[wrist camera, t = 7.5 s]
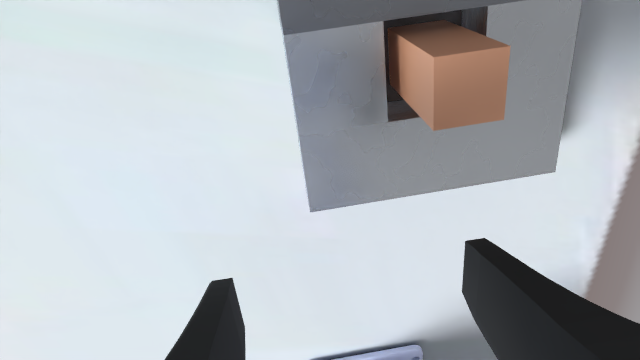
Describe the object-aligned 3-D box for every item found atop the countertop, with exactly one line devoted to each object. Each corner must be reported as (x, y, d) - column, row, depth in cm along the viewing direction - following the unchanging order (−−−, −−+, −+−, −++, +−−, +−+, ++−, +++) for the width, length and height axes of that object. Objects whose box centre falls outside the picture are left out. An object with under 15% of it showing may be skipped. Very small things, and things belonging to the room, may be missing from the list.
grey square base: (527, 150, 23) (574, 186, 20) (305, 186, 23) (313, 230, 19) (559, -118, 18) (633, -134, 14) (264, -79, 17) (265, -85, 14)
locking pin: (443, 76, 21) (503, 119, 16) (389, 84, 21) (433, 131, 16) (443, 19, 20) (510, 45, 14) (387, 28, 20) (434, 57, 14)
